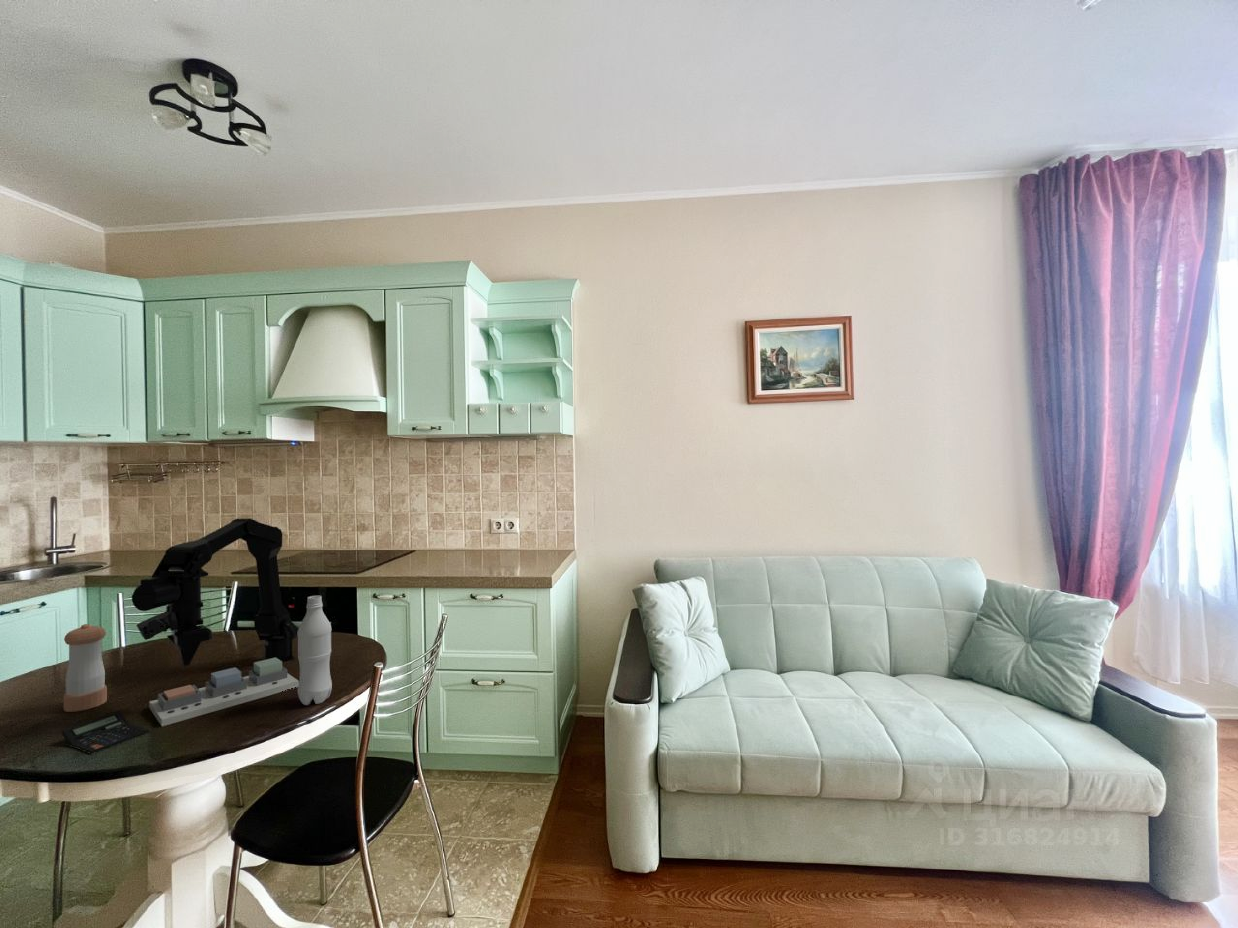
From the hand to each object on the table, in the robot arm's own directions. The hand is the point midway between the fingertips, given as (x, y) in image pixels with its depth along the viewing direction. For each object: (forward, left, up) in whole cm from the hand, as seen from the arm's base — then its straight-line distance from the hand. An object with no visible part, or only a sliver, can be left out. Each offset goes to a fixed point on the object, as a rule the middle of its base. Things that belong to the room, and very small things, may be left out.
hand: (186, 665), depth 126 cm
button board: (-8, +1, -10) cm, 13 cm away
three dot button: (+1, 0, -8) cm, 8 cm away
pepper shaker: (+15, -20, -10) cm, 27 cm away
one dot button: (-17, 0, -7) cm, 18 cm away
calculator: (+14, +5, -10) cm, 18 cm away
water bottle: (-21, +20, -10) cm, 31 cm away
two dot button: (-8, 0, -7) cm, 10 cm away
